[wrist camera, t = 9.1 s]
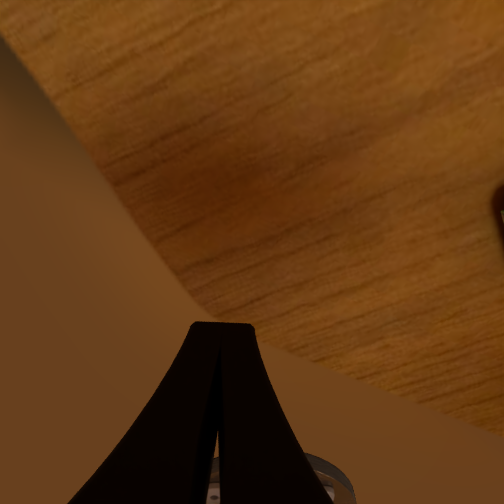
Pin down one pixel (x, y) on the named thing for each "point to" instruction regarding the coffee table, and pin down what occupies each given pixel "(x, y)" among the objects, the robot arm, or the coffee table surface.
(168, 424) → the robot arm
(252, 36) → the coffee table surface
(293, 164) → the coffee table surface
